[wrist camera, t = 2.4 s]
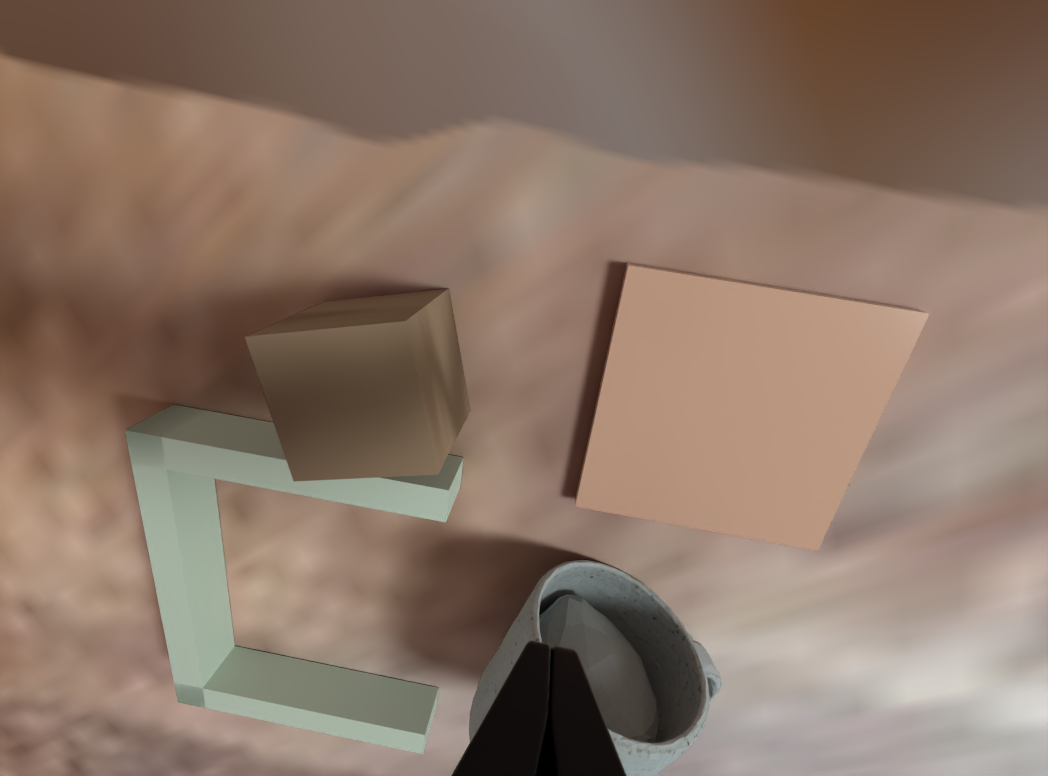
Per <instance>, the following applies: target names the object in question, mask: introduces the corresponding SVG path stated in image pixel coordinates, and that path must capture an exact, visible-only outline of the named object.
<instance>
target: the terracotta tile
mask: <svg viewBox="0 0 1048 776" xmlns="http://www.w3.org/2000/svg"><path fill="white" fill-rule="evenodd" d="M928 316H929V313H927V312H924V311H921V310H918V309H912V308H906V307H900V306H894V305H887V304H881V303H875V302H869V301H862V300H856V299H850V298H844V297H837V296H831V295H825V294H819V293H813V292H806V291H800V290H794V289H788V288H781V287H775V286H769V285H763V284H756V283H750V282H744V281H738V280H731V279H725V278H719V277H713V276H707V275H700V274H694V273H688V272H682V271H675V270H669V269H663V268H657V267H650V266H644V265H638V264H632V263H627V264H626V269H625V273H624V278H623V282H622V287H621V292H620V296H619V301H618V305H617V310H616V314H615V319H614V324H613V328H612V333H611V337H610V342H609V346H608V351H607V356H606V360H605V365H604V369H603V374H602V378H601V383H600V388H599V392H598V397H597V401H596V406H595V410H594V415H593V420H592V424H591V429H590V433H589V438H588V443H587V447H586V452H585V456H584V461H583V465H582V470H581V475H580V479H579V484H578V488H577V493H576V497H575V506H576V507H581V508H586V509H592V510H597V511H603V512H608V513H613V514H619V515H624V516H630V517H635V518H640V519H646V520H651V521H657V522H662V523H667V524H673V525H678V526H684V527H689V528H694V529H700V530H705V531H711V532H716V533H721V534H727V535H732V536H738V537H743V538H748V539H754V540H759V541H765V542H770V543H775V544H781V545H786V546H792V547H797V548H803V549H808V550H813V551H818V549H819V547H820V545H821V543H822V541H823V539H824V536H825V534H826V532H827V530H828V528H829V526H830V524H831V522H832V519H833V517H834V515H835V513H836V511H837V509H838V507H839V505H840V503H841V500H842V498H843V496H844V494H845V492H846V490H847V488H848V486H849V483H850V481H851V479H852V477H853V475H854V473H855V471H856V469H857V466H858V464H859V462H860V460H861V458H862V456H863V454H864V452H865V450H866V447H867V445H868V443H869V441H870V439H871V437H872V435H873V433H874V430H875V428H876V426H877V424H878V422H879V420H880V418H881V416H882V414H883V411H884V409H885V407H886V405H887V403H888V401H889V399H890V397H891V394H892V392H893V390H894V388H895V386H896V384H897V382H898V380H899V377H900V375H901V373H902V371H903V369H904V367H905V365H906V363H907V361H908V358H909V356H910V354H911V352H912V350H913V348H914V346H915V344H916V341H917V339H918V337H919V335H920V333H921V331H922V329H923V327H924V324H925V322H926V320H927V318H928Z"/></svg>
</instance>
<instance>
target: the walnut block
mask: <svg viewBox="0 0 1048 776" xmlns="http://www.w3.org/2000/svg"><path fill="white" fill-rule="evenodd" d="M245 340H246V343H247V346H248V349H249V352H250V355H251V358H252V360H253V363H254V366H255V369H256V372H257V375H258V378H259V381H260V384H261V387H262V390H263V393H264V396H265V399H266V402H267V405H268V408H269V411H270V414H271V417H272V419H273V422H274V425H275V428H276V431H277V434H278V437H279V440H280V443H281V446H282V449H283V452H284V455H285V458H286V461H287V464H288V467H289V470H290V473H291V475H292V478H293V481H294V482H295V481H315V480H336V479H356V478H376V477H396V476H416V475H437V474H439V472H440V470H441V468H442V466H443V464H444V462H445V460H446V458H447V456H448V454H449V452H450V450H451V448H452V446H453V444H454V442H455V440H456V438H457V436H458V434H459V432H460V430H461V428H462V426H463V424H464V422H465V420H466V418H467V416H468V414H469V412H470V405H469V399H468V394H467V388H466V382H465V377H464V371H463V365H462V360H461V354H460V348H459V343H458V337H457V331H456V326H455V320H454V314H453V309H452V303H451V297H450V292H449V288H446V289H437V290H427V291H418V292H409V293H399V294H390V295H380V296H371V297H361V298H352V299H342V300H333V301H324V302H322V303H320V304H317V305H315V306H313V307H311V308H308V309H306V310H304V311H302V312H299V313H297V314H295V315H293V316H290V317H288V318H286V319H284V320H281V321H279V322H277V323H275V324H272V325H270V326H268V327H266V328H263V329H261V330H259V331H256V332H254V333H252V334H250V335H247V336H245Z"/></svg>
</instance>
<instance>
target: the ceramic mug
mask: <svg viewBox="0 0 1048 776" xmlns="http://www.w3.org/2000/svg"><path fill="white" fill-rule="evenodd" d="M529 641H537V642H542V643H547V644H549V645H550V646H551V648H552V647H553V646H556V645H557V646H562V647H567V648H572V649H575V650H576V651H577V653H578V655H579V657H580V660H581V662H582V665H583V667H584V670H585V672H586V675H587V677H588V680H589V682H590V685H591V687H592V690H593V692H594V695H595V698H596V700H597V703H598V705H599V708H600V710H601V713H602V715H603V718H604V720H605V723H606V725H607V728H608V730H609V733H610V735H611V738H612V740H613V743H614V745H615V748H616V750H617V753H618V755H619V758H620V760H621V763H622V765H623V768H624V770H625V773H626V775H627V776H654V775H655V774H657V773H658V772H659V771H661V770H662V769H663V768H665V767H666V766H667V765H669V764H670V763H671V762H673V761H674V760H675V759H676V758H678V757H679V756H680V755H682V754H683V753H684V752H685V751H686V750H687V749H688V748H689V747H690V746H691V744H692V743H693V742H694V741H695V740H696V739H697V738H698V736H699V735H700V733H701V732H702V730H703V729H704V725H705V721H706V717H707V714H708V710H709V703H710V701H711V700H712V699H713V698H714V697H715V695H716V694H717V693H718V691H719V690H720V688H721V678H720V675H719V672H718V670H717V669H716V667H715V665H714V664H713V662H712V660H711V658H710V656H709V654H708V653H707V651H706V650H705V648H704V647H703V646H702V645H701V644H700V643H698V642H696V641H693V640H692V639H691V637H690V635H689V634H688V632H687V631H686V630H685V628H684V626H683V624H682V623H681V622H680V620H679V619H678V618H677V617H676V615H675V614H674V613H673V612H672V610H671V609H670V608H669V607H668V606H667V605H666V604H665V603H664V602H663V601H662V600H661V599H660V598H659V597H658V596H657V595H656V594H655V593H654V592H653V591H652V590H650V589H649V588H648V587H646V586H645V585H644V584H642V583H641V582H639V581H638V580H637V579H635V578H633V577H632V576H630V575H628V574H626V573H624V572H623V571H621V570H619V569H616V568H614V567H611V566H609V565H606V564H603V563H600V562H595V561H588V560H576V561H568V562H564V563H562V564H560V565H557V566H555V567H554V568H552V569H551V570H549V571H548V572H547V573H546V574H544V575H543V576H542V577H541V578H540V580H539V581H538V583H537V585H536V586H535V588H534V589H533V591H532V593H531V594H530V596H529V598H528V599H527V601H526V603H525V604H524V606H523V608H522V609H521V611H520V613H519V614H518V616H517V618H516V619H515V621H514V622H513V624H512V626H511V627H510V629H509V630H508V632H507V634H506V636H505V638H504V640H503V641H502V643H501V645H500V647H499V648H498V650H497V651H496V653H495V654H494V656H493V657H492V659H491V660H490V662H489V663H488V665H487V666H486V668H485V670H484V672H483V674H482V676H481V679H480V681H479V683H478V687H477V691H476V693H475V696H474V698H473V702H472V706H471V711H470V723H469V735H470V742H471V740H472V739H473V737H474V735H475V733H476V731H477V730H478V728H479V726H480V724H481V723H482V721H483V719H484V717H485V716H486V714H487V712H488V710H489V709H490V707H491V705H492V703H493V702H494V700H495V698H496V696H497V694H498V693H499V691H500V689H501V687H502V686H503V684H504V682H505V680H506V679H507V677H508V675H509V673H510V672H511V670H512V668H513V666H514V665H515V663H516V661H517V659H518V657H519V656H520V654H521V652H522V650H523V649H524V647H525V645H526V644H527V642H529Z"/></svg>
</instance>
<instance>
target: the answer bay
mask: <svg viewBox="0 0 1048 776" xmlns="http://www.w3.org/2000/svg"><path fill="white" fill-rule="evenodd" d="M125 434H126V439H127V444H128V449H129V455H130V460H131V465H132V470H133V475H134V480H135V485H136V490H137V495H138V500H139V506H140V511H141V516H142V521H143V526H144V531H145V536H146V541H147V546H148V551H149V557H150V562H151V567H152V572H153V577H154V582H155V587H156V592H157V597H158V603H159V608H160V613H161V618H162V623H163V628H164V633H165V638H166V643H167V648H168V654H169V659H170V664H171V669H172V674H173V679H174V684H175V689H176V694H177V699H178V702H179V703H184V704H189V705H194V706H198V707H203V708H208V709H212V710H217V711H222V712H227V713H231V714H236V715H241V716H245V717H250V718H255V719H259V720H264V721H269V722H274V723H278V724H283V725H288V726H292V727H297V728H302V729H307V730H311V731H316V732H321V733H325V734H330V735H335V736H340V737H344V738H349V739H354V740H358V741H363V742H368V743H372V744H377V745H382V746H387V747H391V748H396V749H401V750H405V751H410V752H415V753H420V754H423V752H424V749H425V745H426V742H427V738H428V735H429V731H430V728H431V724H432V721H433V717H434V713H435V710H436V706H437V697H438V688H437V687H432V686H427V685H422V684H417V683H412V682H408V681H403V680H398V679H393V678H388V677H383V676H378V675H374V674H369V673H364V672H359V671H354V670H349V669H344V668H339V667H335V666H330V665H325V664H320V663H315V662H310V661H305V660H301V659H296V658H291V657H286V656H281V655H276V654H271V653H266V652H262V651H257V650H252V649H247V648H242V647H237V646H235V644H234V636H233V628H232V620H231V611H230V603H229V595H228V587H227V578H226V570H225V562H224V554H223V545H222V537H221V529H220V521H219V512H218V504H217V496H216V488H215V480H214V479H219V480H224V481H229V482H235V483H240V484H245V485H250V486H256V487H261V488H266V489H272V490H277V491H282V492H288V493H293V494H298V495H303V496H309V497H314V498H319V499H325V500H330V501H335V502H340V503H346V504H351V505H356V506H362V507H367V508H372V509H377V510H383V511H388V512H393V513H399V514H404V515H409V516H415V517H420V518H425V519H430V520H436V521H441V522H446V520H447V518H448V516H449V513H450V511H451V508H452V506H453V503H454V501H455V498H456V496H457V494H458V491H459V489H460V485H461V476H462V467H463V457H459V456H453V455H448V456H447V458H446V460H445V462H444V464H443V466H442V468H441V470H440V472H439V474H437V475H416V476H396V477H376V478H356V479H336V480H315V481H295V482H294V481H293V478H292V475H291V473H290V470H289V467H288V464H287V461H286V458H285V455H284V452H283V449H282V446H281V443H280V440H279V437H278V434H277V431H276V428H275V425H274V423H272V422H267V421H261V420H256V419H250V418H245V417H239V416H234V415H228V414H223V413H217V412H212V411H206V410H201V409H195V408H190V407H184V406H179V405H172V406H170V407H168V408H166V409H164V410H162V411H160V412H158V413H157V414H155V415H153V416H151V417H149V418H147V419H145V420H143V421H141V422H139V423H138V424H136V425H134V426H132V427H130V428H128V429H126V430H125Z"/></svg>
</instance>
